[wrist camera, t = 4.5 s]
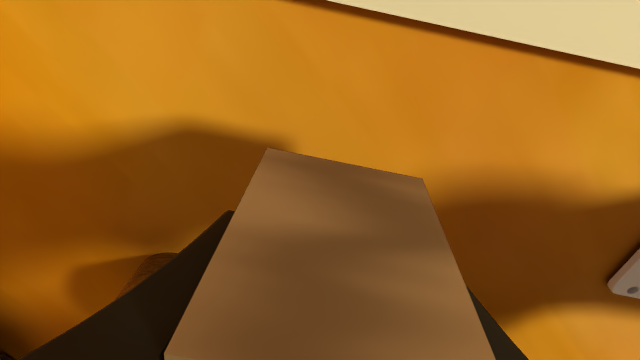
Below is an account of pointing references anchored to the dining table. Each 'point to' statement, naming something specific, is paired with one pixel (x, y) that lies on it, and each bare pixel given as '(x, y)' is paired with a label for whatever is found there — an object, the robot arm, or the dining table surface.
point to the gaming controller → (5, 357)
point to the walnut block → (331, 273)
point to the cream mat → (535, 22)
